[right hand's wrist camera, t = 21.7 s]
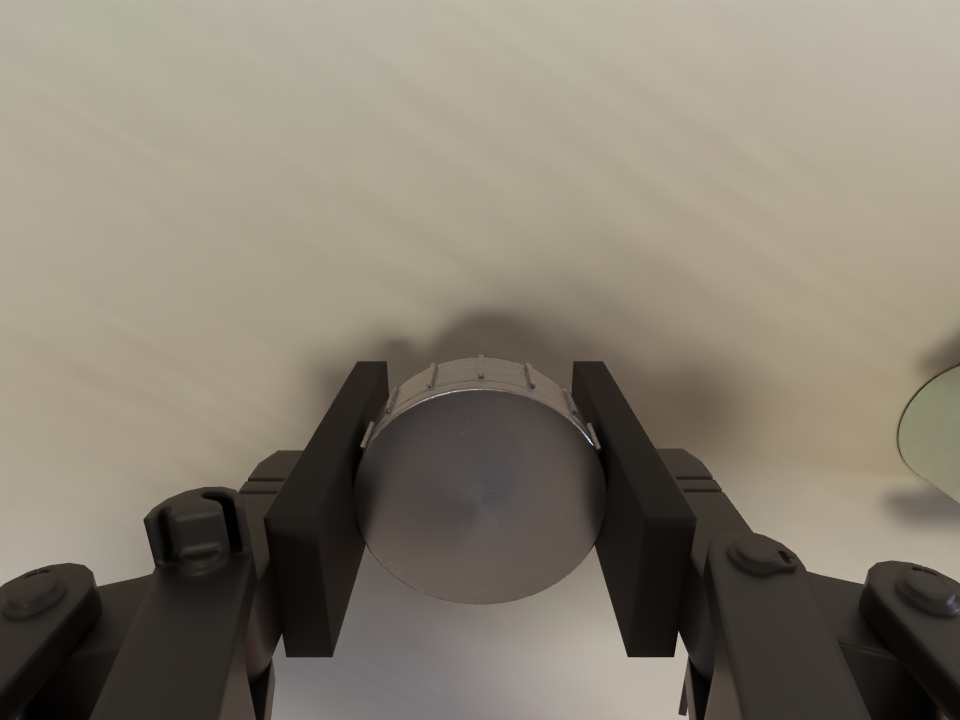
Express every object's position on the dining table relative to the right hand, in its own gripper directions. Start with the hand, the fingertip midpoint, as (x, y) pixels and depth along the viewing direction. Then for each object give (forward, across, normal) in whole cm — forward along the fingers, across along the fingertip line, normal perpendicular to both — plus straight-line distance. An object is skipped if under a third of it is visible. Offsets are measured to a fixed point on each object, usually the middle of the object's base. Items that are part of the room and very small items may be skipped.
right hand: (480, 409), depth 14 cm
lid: (-4, 0, 0) cm, 4 cm away
